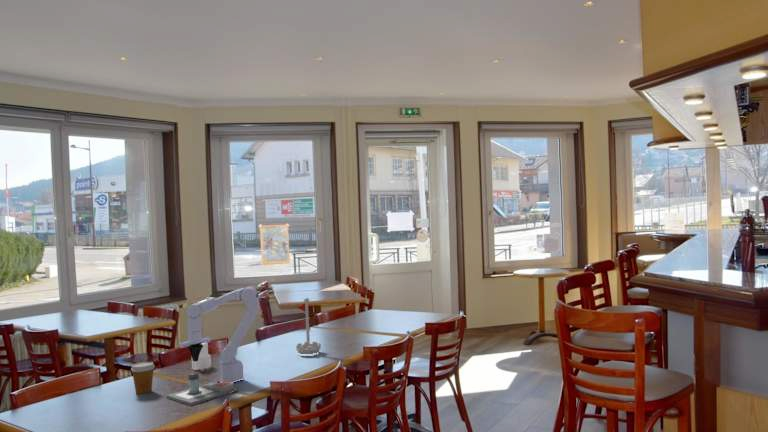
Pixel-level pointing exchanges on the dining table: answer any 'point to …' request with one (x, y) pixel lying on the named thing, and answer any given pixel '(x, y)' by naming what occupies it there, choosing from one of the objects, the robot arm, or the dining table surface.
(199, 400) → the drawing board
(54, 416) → the dining table surface
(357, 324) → the dining table surface
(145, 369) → the disposable coffee cup
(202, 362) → the base with upright slab
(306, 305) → the flag stand
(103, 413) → the dining table surface
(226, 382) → the button
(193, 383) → the salt shaker
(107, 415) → the dining table surface
